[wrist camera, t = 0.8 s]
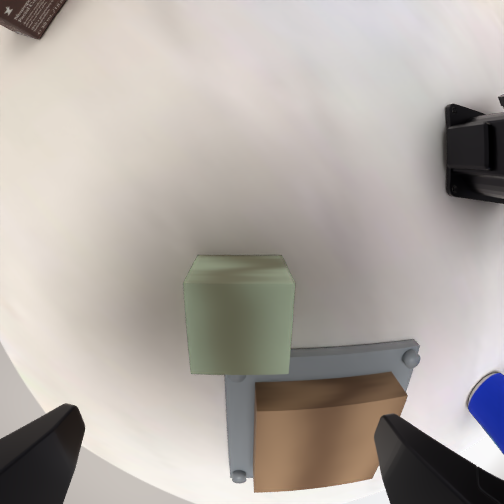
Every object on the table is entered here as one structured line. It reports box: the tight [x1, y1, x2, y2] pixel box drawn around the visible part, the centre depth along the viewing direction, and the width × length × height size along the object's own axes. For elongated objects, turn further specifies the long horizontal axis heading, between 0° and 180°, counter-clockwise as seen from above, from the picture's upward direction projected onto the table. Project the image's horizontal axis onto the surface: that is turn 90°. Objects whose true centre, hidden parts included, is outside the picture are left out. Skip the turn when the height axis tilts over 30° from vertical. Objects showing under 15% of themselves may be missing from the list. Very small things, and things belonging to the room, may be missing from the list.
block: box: [183, 255, 295, 375], centre depth 17 cm, size 5×5×5 cm
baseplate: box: [225, 339, 420, 483], centre depth 21 cm, size 14×14×2 cm
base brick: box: [253, 372, 408, 493], centre depth 20 cm, size 10×10×3 cm
